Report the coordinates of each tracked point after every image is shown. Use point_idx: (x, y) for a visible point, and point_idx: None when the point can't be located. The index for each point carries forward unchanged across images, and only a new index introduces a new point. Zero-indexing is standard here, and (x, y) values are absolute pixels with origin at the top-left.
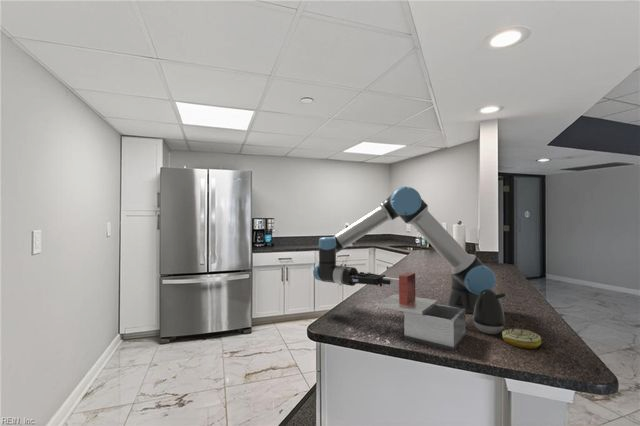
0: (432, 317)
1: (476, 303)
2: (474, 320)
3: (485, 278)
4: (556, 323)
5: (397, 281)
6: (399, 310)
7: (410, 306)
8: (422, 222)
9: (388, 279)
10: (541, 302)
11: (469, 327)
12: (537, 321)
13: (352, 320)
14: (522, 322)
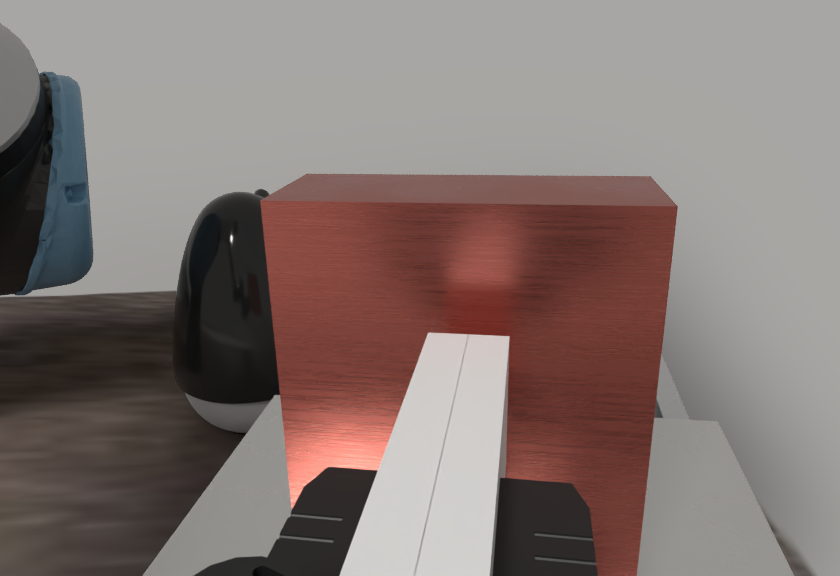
0: (685, 410)
1: (255, 294)
2: (277, 392)
3: (85, 157)
4: (95, 299)
5: (507, 386)
6: None
7: (653, 505)
8: None
9: (498, 499)
10: None
11: (214, 468)
12: (72, 323)
13: None
14: (90, 346)
